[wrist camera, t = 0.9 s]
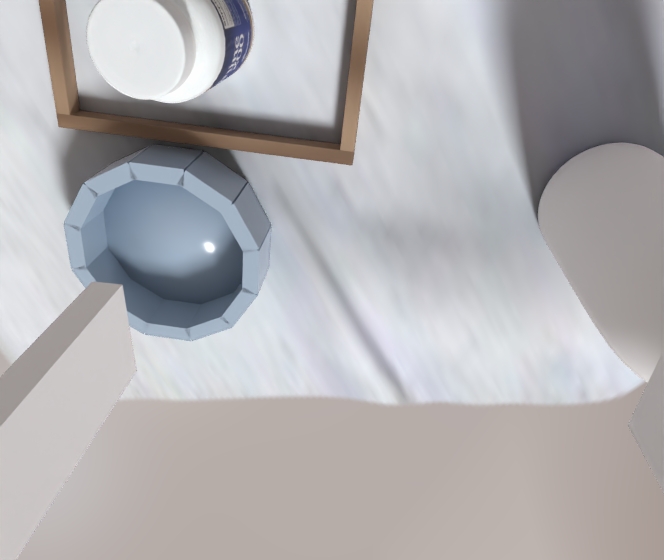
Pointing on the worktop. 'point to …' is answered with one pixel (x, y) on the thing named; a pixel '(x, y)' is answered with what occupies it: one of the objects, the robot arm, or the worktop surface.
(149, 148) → the bowl
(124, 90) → the pill bottle
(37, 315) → the worktop surface
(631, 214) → the milk bottle
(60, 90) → the empty rectangular wooden frame
